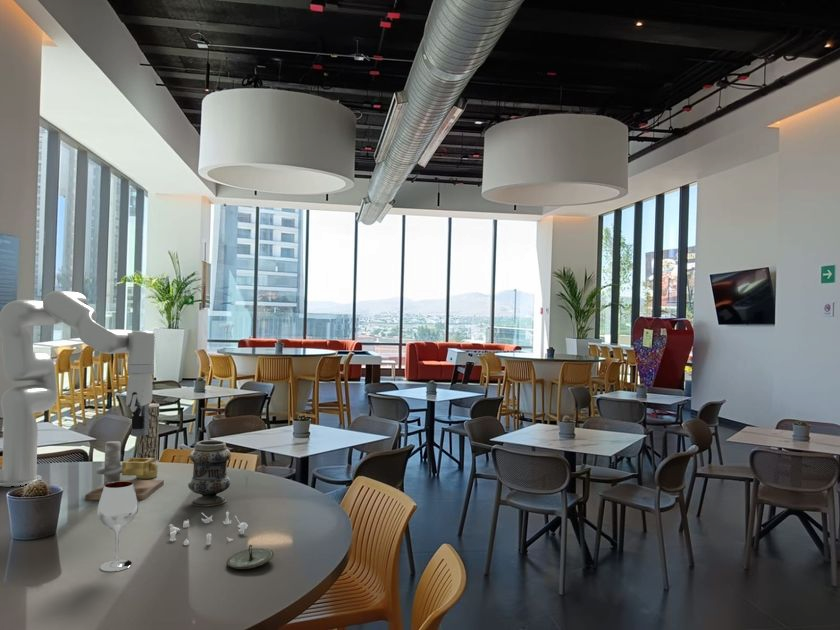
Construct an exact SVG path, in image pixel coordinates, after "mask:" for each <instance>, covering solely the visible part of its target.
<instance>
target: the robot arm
mask: <svg viewBox="0 0 840 630" xmlns="http://www.w3.org/2000/svg"><path fill="white" fill-rule="evenodd" d="M97 313H98V312H97V311H96V310H95V309H94V308H92V307H91V306H89V301H88V299H87V297H86V296H85V295H84V294H82V293H80V292H76V291H67V290H53V291H51V292H48V293H47V294H46V295H44V297H43V298H42V300H37V299H16V300H13V301H10V302H8V303H7V304H5V305H4V306H3V307H2V308H1V310H0V338H1V346H2V347H1V350H2V351H1V352H2V361H3V363H2V364H3V372H4V373H3V374H4V376H5V378H6V379H7V380H8V381H9V382H14V383H22V382H29V384H26V385H25V384H24V385H18V386H13V387H10V388H9V389H7V390H5V391H4V393H3V394H2V396H1V398H0V409H1V414H2V420H3V421H2V422H3V428H2V429H3V432H2V433H3V441H2V443H3V444H2V468H0V487H5V488H6V487H11V486H14V487H22V486H26V485H25V484H28V483H29V482H32V481H38V480H41V481H42V477H43V476H42V475H40V474H37V463H38V461H37V460H38V423H37V421H36V420H37V419H36V418H35V417H34V413H35V414H36V413H42V412H45V411H49V410H51V409H52V408H53V407H54V406H55V405H56V402H57V399H58V398H57V397H58V388H57V378H56V377H57V374H56V366H55V363H54V360H53V359H52V357H51V356H50V355H49V354H47V353H45V352H41V351H34V348H33V346H34V345H33V337H32V336H31V333H30V332H29V331H28V329H27V328H26V327H28V326H36V327H37V326H53V325H57V324H60V323H64V324H65V325H67V326H68V327H70V328H71V329H73V330H75V332H76V334H77V336H78V338H79V339H80V341H81V342H82V343H84V344H85V345H87V346H88V347H90V348H92V349H93V350H95V351H97V352H99V353H102V354H106V355H112V354H113V355H114V354H128V363H127V364H128V365H127V366H128V370H127V374H128V379H127V384H126V385H127V387H126V399H125V405H126V406H127V407H129V408H130V411H131V430H132V429H143V416H142V410H143V406H144V405H146V404H148V403H149V404H150V403H152V402H153V375H154V374H155V349H156V348H155V346H156V345H155V343H156V342H155V341H156V340H155V339H156V336H155V333H154V332H153V331H151V330H132V329H108V328H106V327H104V326H102V325H101V324H99V323H98V322H97V318H98V314H97ZM137 404H139V405H140V406H136V405H137ZM137 408H140V409H137ZM20 485H21V486H20ZM11 488H12V487H11Z"/></svg>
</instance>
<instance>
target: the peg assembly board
mask: <svg viewBox="0 0 840 630" xmlns="http://www.w3.org/2000/svg"><path fill="white" fill-rule="evenodd" d="M121 446H122V445H121V441H119V440H114V441H113V440H112V441H106V442H105V444H104V447H105V448H104V465H101V466H98V467H97V468H95V471H96V472H95V473H96V474H98V475H103V477H104V478H103V484H101V485H99V486H98V487H96V488H95V489H93V490H91V491H90V492H88V493H86V494H85V496H84V497H85V499H84V500H85V501H87V500H89V501H91V500H92V501H94V500H95V501H97V500H98V501H100V498H101V495H102V492H103V489H104V486H105V485H106V484H108V483H112V482H119V481H127V482H132V483H133V485H134V489H135V493H136V497H137V501H144V500H146V499H147V498H148V497H149V496H151V495H152V494H153V493H154V492H155V493H156V491H157V490H159V489H160V488H161V487H163V486H164V483H165V481H164V480H161V479H121V476H136V475H144V476H146V475H148V474H149V473H151V472H152V471H155V470H156V467H157V464H156V463H154V458H136V457H129V458H128V459H126V460H124V461H123V462H122V461H121V450H122V449H121ZM120 475H121V476H120ZM162 485H163V486H162Z"/></svg>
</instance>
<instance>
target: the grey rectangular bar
mask: <svg viewBox="0 0 840 630" xmlns="http://www.w3.org/2000/svg"><path fill="white" fill-rule="evenodd" d="M136 406H140V405H139V404H137V405H136ZM137 409H140V408H137ZM142 416H143V429H132V428H131V433H130V435H131V436H135V437H137V436H145V435H147V434H148V426H149V403H148V404H146V405H144V406H143V410H142Z"/></svg>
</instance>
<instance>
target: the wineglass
mask: <svg viewBox="0 0 840 630" xmlns="http://www.w3.org/2000/svg"><path fill="white" fill-rule="evenodd" d="M98 501H99V502H98V505H97V506H98V507H97V513H96V514H97V517H98V519H99V520H100V522H101V523H102V524H104V525H105V526H106V527H107V528H108V529H110V530H112V532H113V534H114V537H115V538H114V540H115V541H114V559H113V560H111V561H110V560H109V561H106V562H105V563H102V564H101V565H100V566H99V568H100V570H101V571H103V572H106V573H107V572H111V573H112V572H113V573H114V572H119V571H123V570H127V569H129V568H131V567H132V565H133V562H132V561H131V560H128V559H120V552H119V551H120V534H121V532H122V530H124V528H126V527H127V526H128V525H129V524H130V523H131V522H133V521H134V519H135V517H136V516H137V515H138V513H139V500H137V497H136V493H135V489H134V485H133V483H132V482H127V481H119V482H112V483H108V484H106V485H105V486H104V489H103V492H102V495H101V498H100V500H98Z"/></svg>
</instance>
